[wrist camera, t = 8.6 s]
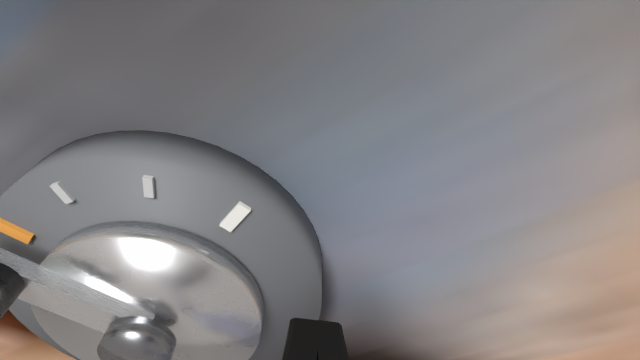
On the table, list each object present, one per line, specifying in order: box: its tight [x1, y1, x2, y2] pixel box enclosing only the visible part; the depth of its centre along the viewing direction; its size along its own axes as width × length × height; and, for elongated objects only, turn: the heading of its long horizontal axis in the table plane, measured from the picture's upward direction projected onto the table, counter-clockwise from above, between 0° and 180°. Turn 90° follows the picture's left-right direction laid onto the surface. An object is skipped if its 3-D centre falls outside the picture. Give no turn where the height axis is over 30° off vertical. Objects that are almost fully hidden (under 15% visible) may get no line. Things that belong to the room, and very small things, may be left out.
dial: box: [0, 221, 264, 360], centre depth 18 cm, size 14×11×6 cm
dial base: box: [0, 131, 322, 360], centre depth 22 cm, size 17×17×3 cm
